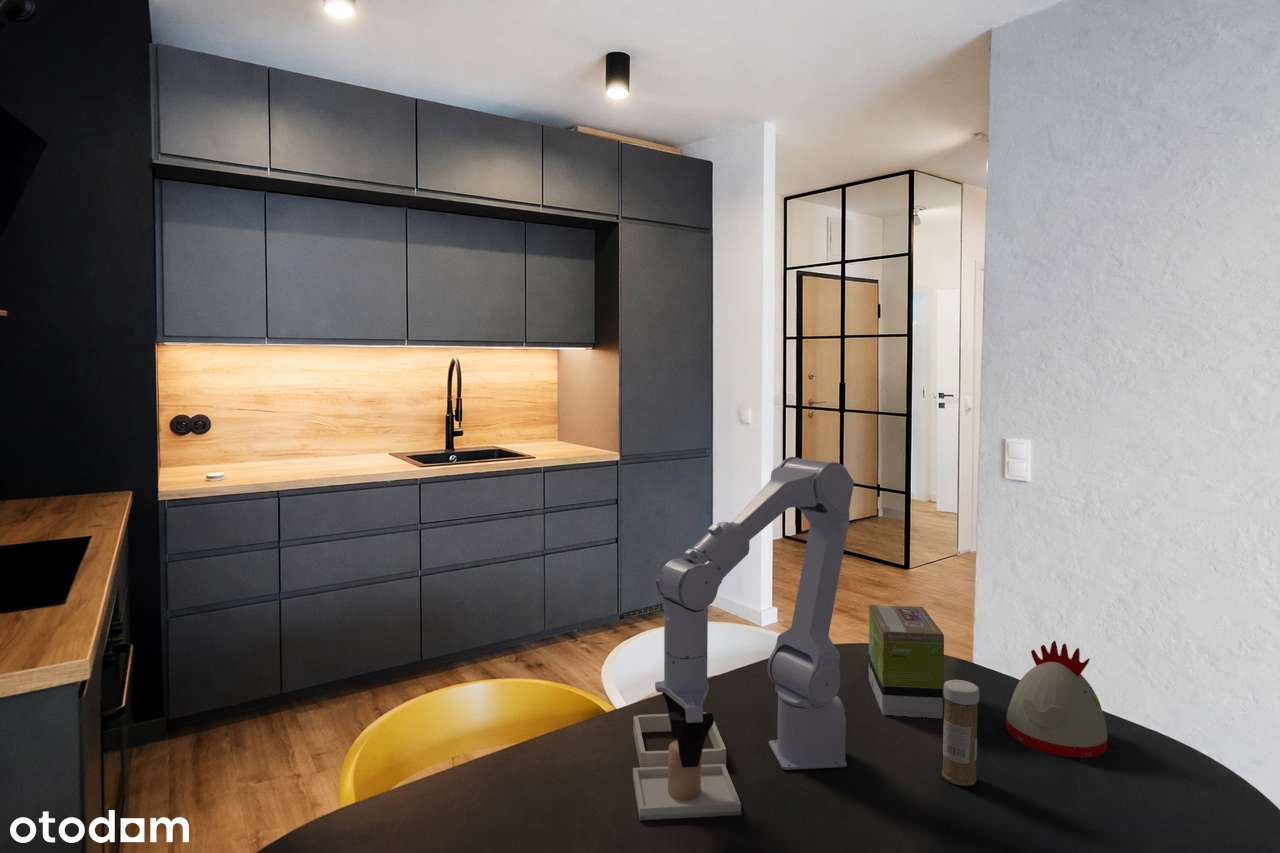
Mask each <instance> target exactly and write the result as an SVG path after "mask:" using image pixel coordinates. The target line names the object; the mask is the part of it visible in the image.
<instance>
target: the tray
mask: <svg viewBox="0 0 1280 853" xmlns="http://www.w3.org/2000/svg"><path fill="white" fill-rule="evenodd" d="M726 766H727V765H726ZM726 766H725V764H708V765H701V794H700V796H699V797H697V798H696V799H693V800H687V801H685V800H678V799H675V798H673V797H671V796H670V795H669V793H668V766H663V767H641V768H640V767H632V781H633V783H632V784H633V787H634V795H635V802H636V807H637V812H638V820H639V821H651V820H669V819H670V820H672V819H689V818H692V819H693V818H706V817H707V818H710V817H731V816H742V803H741V801H740V798H739V795H738V793H737V790H736V788H735V786H734V783H733V781H732V778H731V776H730V774H729V772H728V769H727V767H726Z"/></svg>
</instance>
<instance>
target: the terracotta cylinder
mask: <svg viewBox="0 0 1280 853" xmlns="http://www.w3.org/2000/svg"><path fill="white" fill-rule="evenodd" d="M668 750H669V760H668V793H669V795H670V796H671V797H673V798H675V799H678V800H685V801H687V800H693V799H696V798H697V797H699V796H700V794H701V762H702V754H701V758H700V762H699V765H698V767H684V768H683V767H682V764H681V760H680V756H679V749H678V742H677V740H673V741H672V742H670V744H669V745H668Z"/></svg>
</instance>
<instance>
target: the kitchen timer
mask: <svg viewBox="0 0 1280 853" xmlns="http://www.w3.org/2000/svg"><path fill="white" fill-rule="evenodd" d="M1050 645H1051V646H1050V650H1049V651H1048V649H1047V647H1046V645H1045V644H1042V645H1041V646H1040V652H1041V656H1042V658H1040V656H1038V654H1037V652H1036V650H1035V649H1032V650H1030V654H1031V657H1032V659H1033V661H1034V664H1035V666H1033V667H1032V668H1031V669H1030V670H1028V671H1027V672H1026V673H1025V674H1024V675H1023V676H1022V678H1021V679H1020V680H1019V682H1018V683H1017V685H1016V687H1015V689H1014V692H1013V693H1012V697H1011V699H1010V702H1009V705H1008V708H1007V711H1006V722H1005V723H1006V724H1005V725H1006V726H1005V727H1006V730H1007V732H1008V734H1010V736H1012V738H1014V739H1015V740H1017V741H1018V742H1020V743H1022V744H1023V745H1024V746H1027V747H1030V748H1032V749H1035V750H1037V751H1041V752H1043V753H1044V752H1045V753H1047V754H1051V755H1055V756H1060V757H1066V758H1078V759H1079V758H1080V759H1084V758H1095V757H1098V756H1101V755H1103V754H1104V753H1105V752H1106V751H1108V727H1107V724H1106V718H1105V716H1104V715H1105V714H1104V712H1103V710H1102V705H1101V702H1100V700H1099V698H1098V695H1097V694H1096V691H1094V689H1093V687H1092V686H1091V684H1090V683H1089V682H1088V680H1087V679H1086V678H1085V677H1084V676H1083V675H1082V672H1084V670H1085V668H1086V667H1087V665H1088V664H1089V662H1090V659H1091V658H1090V657H1089V658H1087V659H1086V660H1085V661H1083V662H1081V660H1080V655H1081V654H1080V653H1081V652H1080V650H1081V649H1080V648H1079V647H1077V648H1076V649H1075V650H1074V652H1073V654H1072V656H1071V658H1070V657H1069V651H1068V647H1067V644H1066V643H1063V644H1062V645H1061V650H1060V654H1059V650H1058V645H1057V641H1056V640H1053V641H1052V642H1051V644H1050Z"/></svg>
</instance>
